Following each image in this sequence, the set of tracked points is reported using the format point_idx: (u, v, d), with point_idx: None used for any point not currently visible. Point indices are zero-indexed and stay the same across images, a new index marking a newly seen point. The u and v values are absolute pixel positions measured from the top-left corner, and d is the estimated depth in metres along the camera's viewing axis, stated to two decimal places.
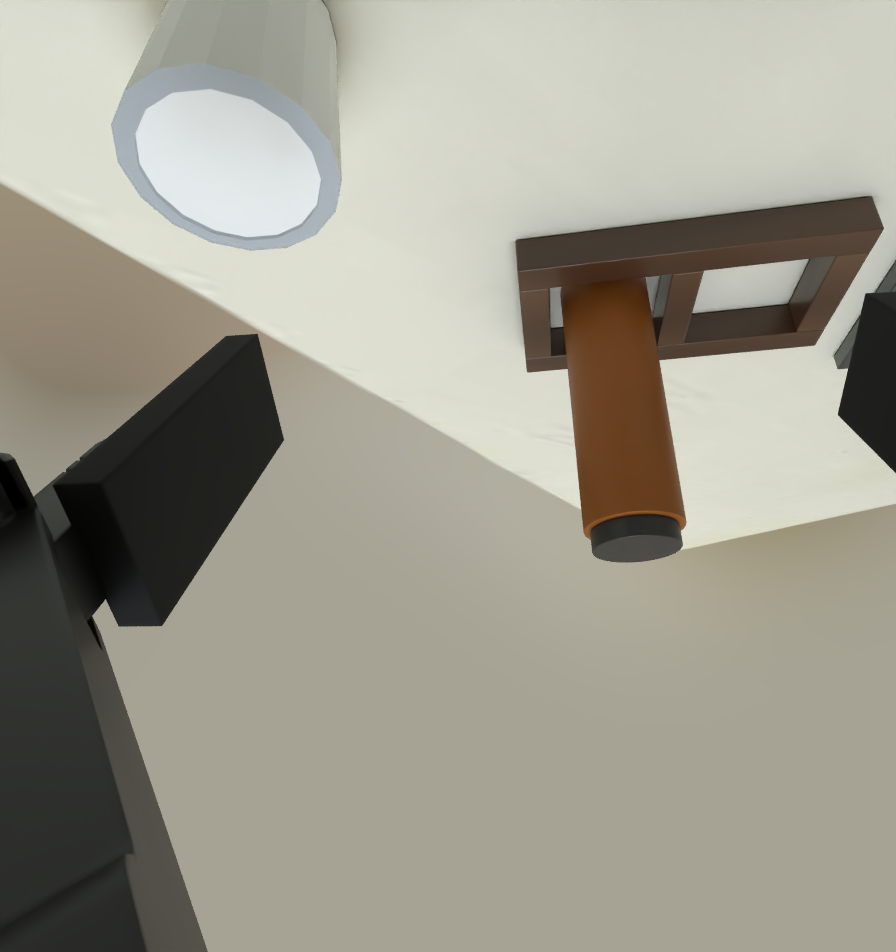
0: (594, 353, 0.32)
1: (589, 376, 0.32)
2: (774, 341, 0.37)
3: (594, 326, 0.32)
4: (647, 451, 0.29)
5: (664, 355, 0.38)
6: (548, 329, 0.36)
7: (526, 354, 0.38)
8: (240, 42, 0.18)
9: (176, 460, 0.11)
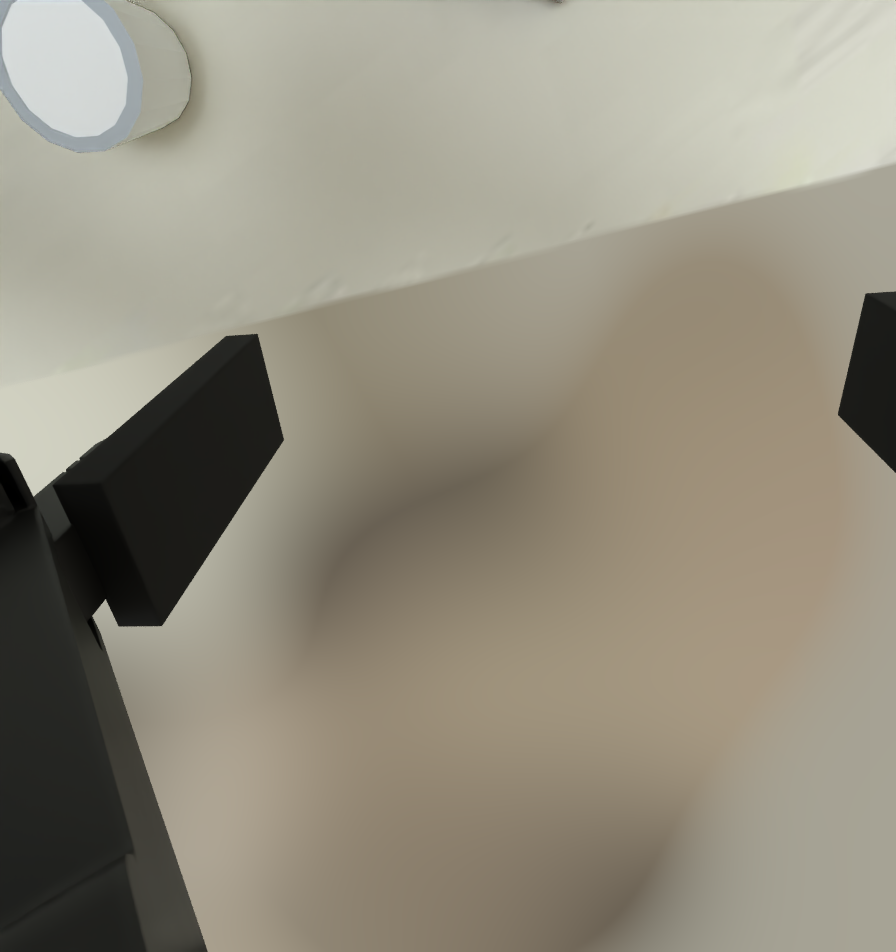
0: None
1: None
2: None
3: None
4: None
5: None
6: None
7: None
8: None
9: (176, 460, 0.11)
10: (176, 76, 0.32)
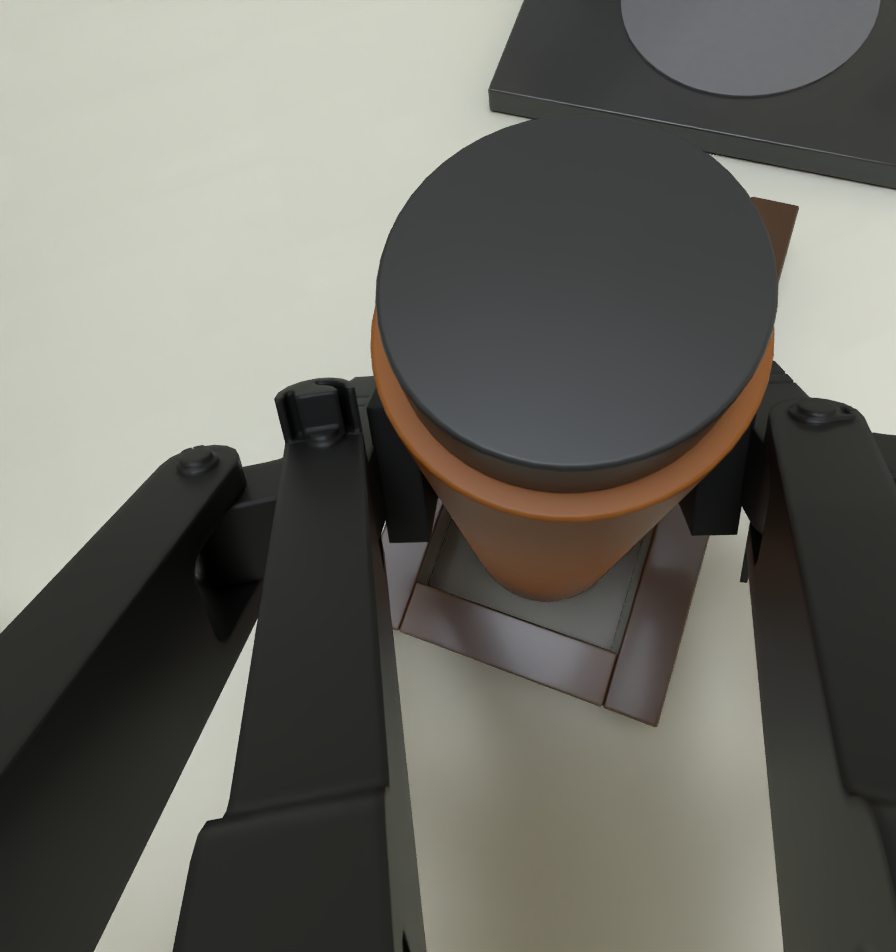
0: None
1: None
2: None
3: None
4: None
5: None
6: (524, 624, 0.18)
7: (586, 698, 0.18)
8: None
9: None
10: None
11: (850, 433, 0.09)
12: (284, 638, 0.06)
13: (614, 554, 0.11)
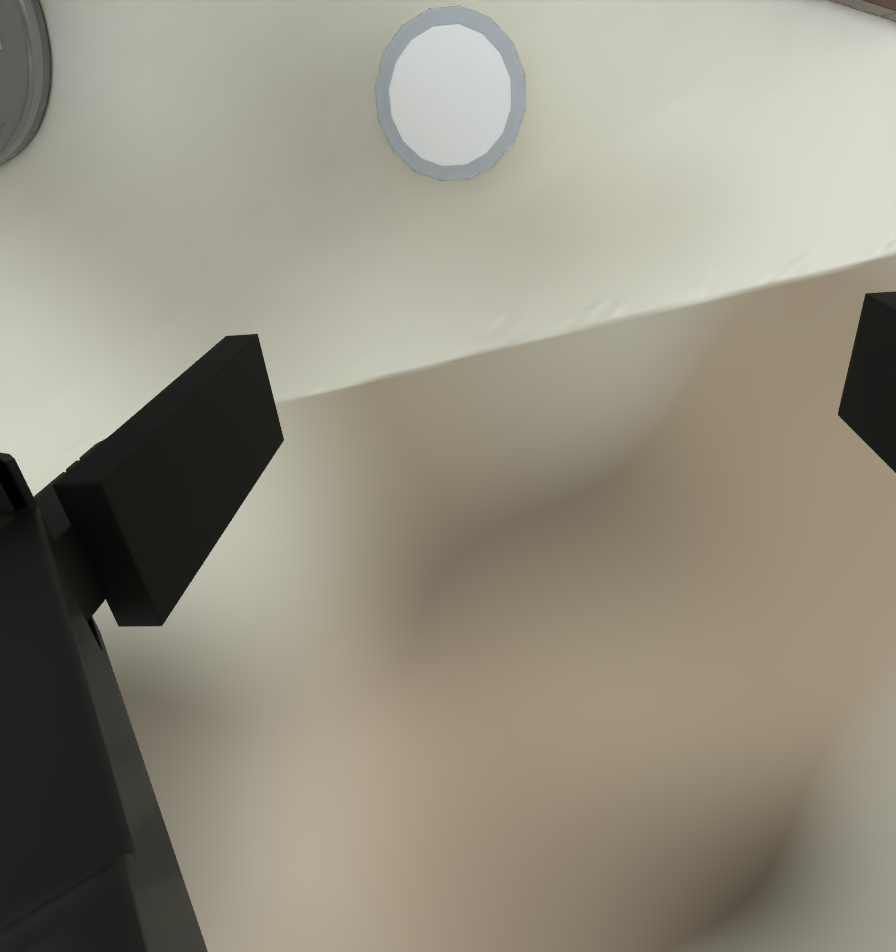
0: None
1: None
2: None
3: None
4: None
5: None
6: None
7: (891, 7, 0.30)
8: None
9: (176, 460, 0.11)
10: None
11: None
12: None
13: None
